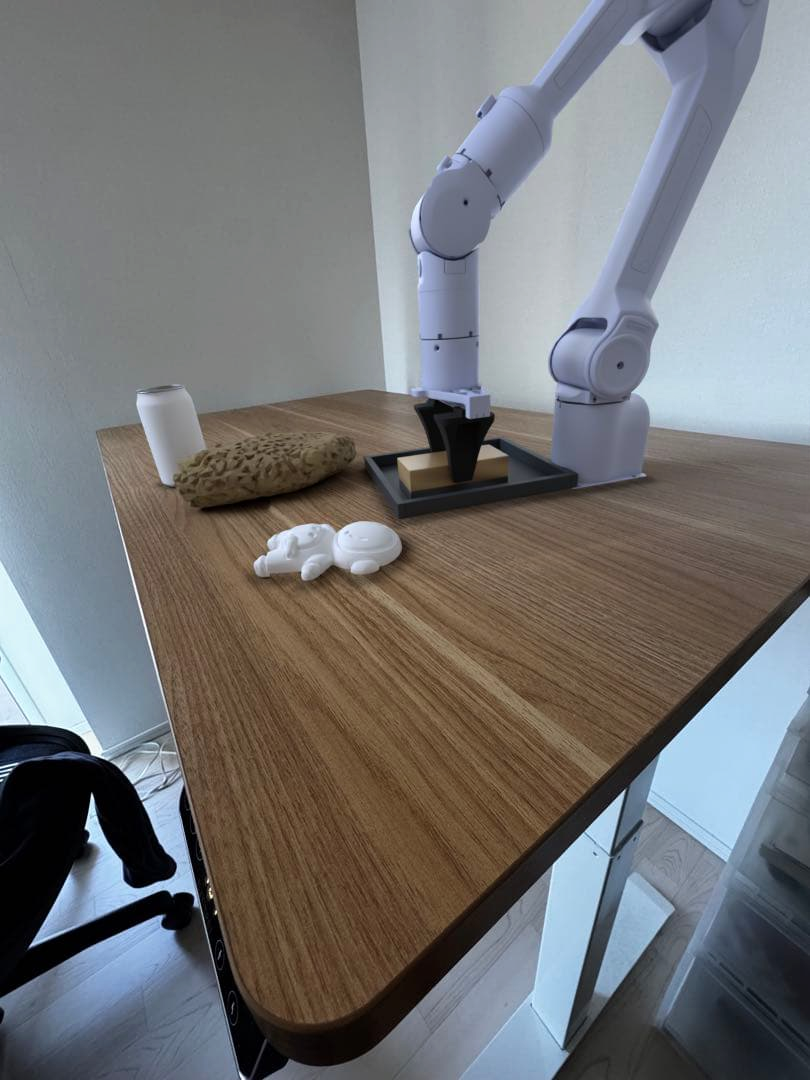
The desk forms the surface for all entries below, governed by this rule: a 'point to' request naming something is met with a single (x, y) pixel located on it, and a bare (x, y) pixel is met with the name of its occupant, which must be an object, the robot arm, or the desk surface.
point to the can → (169, 427)
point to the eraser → (434, 477)
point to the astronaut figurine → (329, 549)
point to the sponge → (261, 467)
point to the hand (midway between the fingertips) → (452, 472)
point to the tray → (524, 480)
